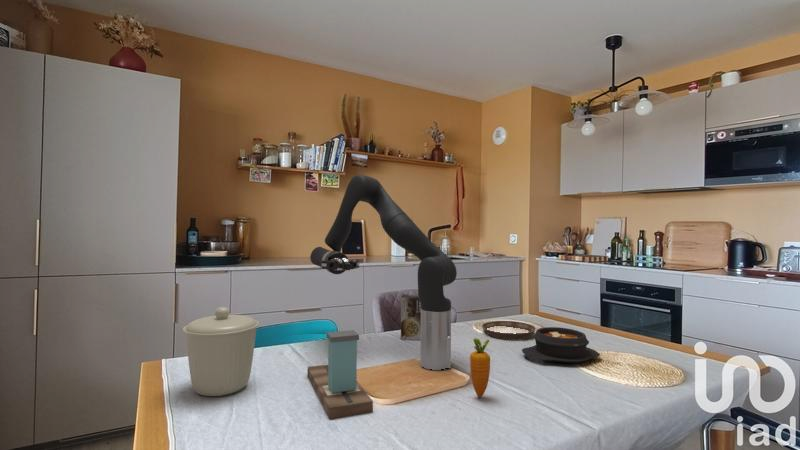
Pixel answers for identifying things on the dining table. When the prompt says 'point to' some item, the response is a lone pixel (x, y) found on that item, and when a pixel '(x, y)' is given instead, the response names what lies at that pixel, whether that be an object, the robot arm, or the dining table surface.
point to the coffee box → (410, 317)
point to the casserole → (560, 346)
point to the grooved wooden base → (338, 396)
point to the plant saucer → (509, 324)
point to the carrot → (480, 367)
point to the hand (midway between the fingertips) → (347, 266)
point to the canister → (220, 352)
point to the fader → (342, 360)
